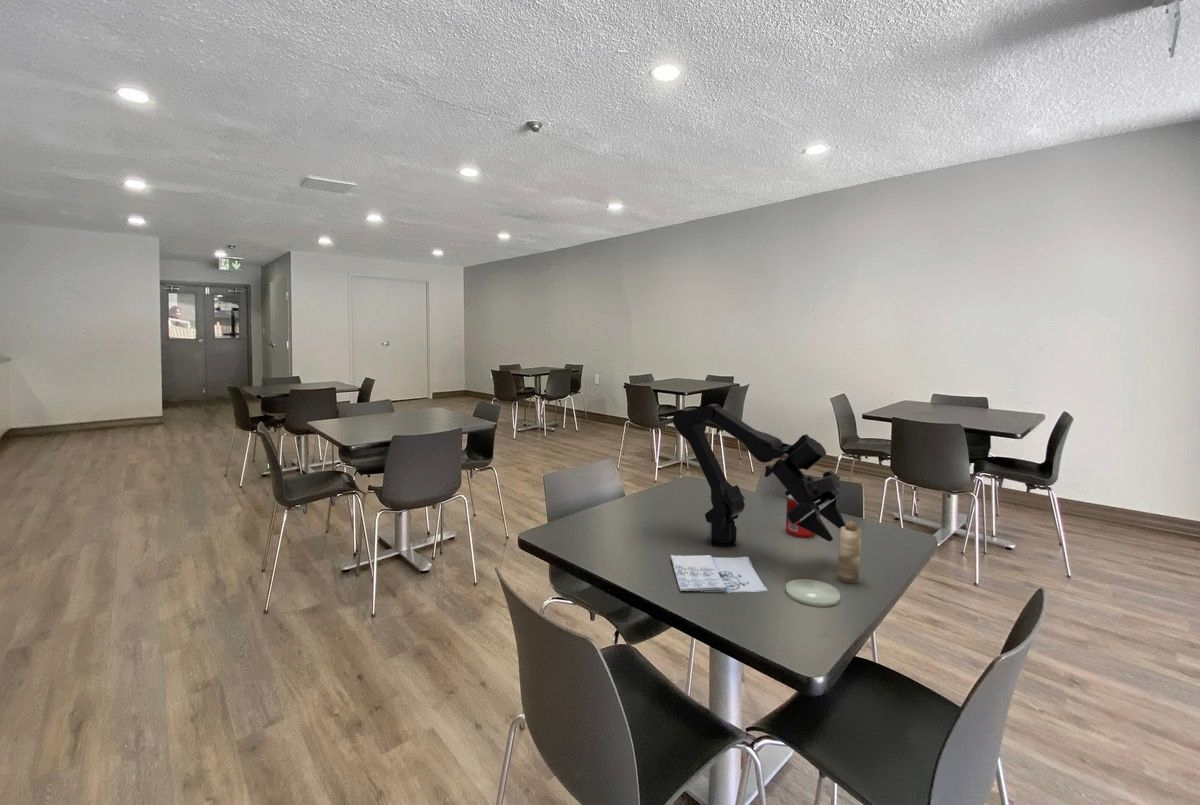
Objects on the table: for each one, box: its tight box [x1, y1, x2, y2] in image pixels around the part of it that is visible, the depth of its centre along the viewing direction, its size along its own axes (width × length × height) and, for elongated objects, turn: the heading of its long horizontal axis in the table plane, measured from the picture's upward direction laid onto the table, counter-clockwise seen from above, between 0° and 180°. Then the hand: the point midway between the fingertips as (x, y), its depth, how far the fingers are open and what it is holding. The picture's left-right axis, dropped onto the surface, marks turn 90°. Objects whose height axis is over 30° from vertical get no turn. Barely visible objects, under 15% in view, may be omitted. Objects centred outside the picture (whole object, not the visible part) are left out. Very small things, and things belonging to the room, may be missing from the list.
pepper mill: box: [837, 520, 863, 584], centre depth 124 cm, size 4×4×14 cm
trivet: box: [785, 578, 841, 608], centre depth 117 cm, size 11×11×1 cm
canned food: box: [785, 495, 817, 539], centre depth 154 cm, size 8×8×11 cm
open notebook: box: [670, 554, 769, 594], centre depth 127 cm, size 19×20×2 cm
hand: (838, 535), depth 126 cm, fingers open, 9 cm apart
